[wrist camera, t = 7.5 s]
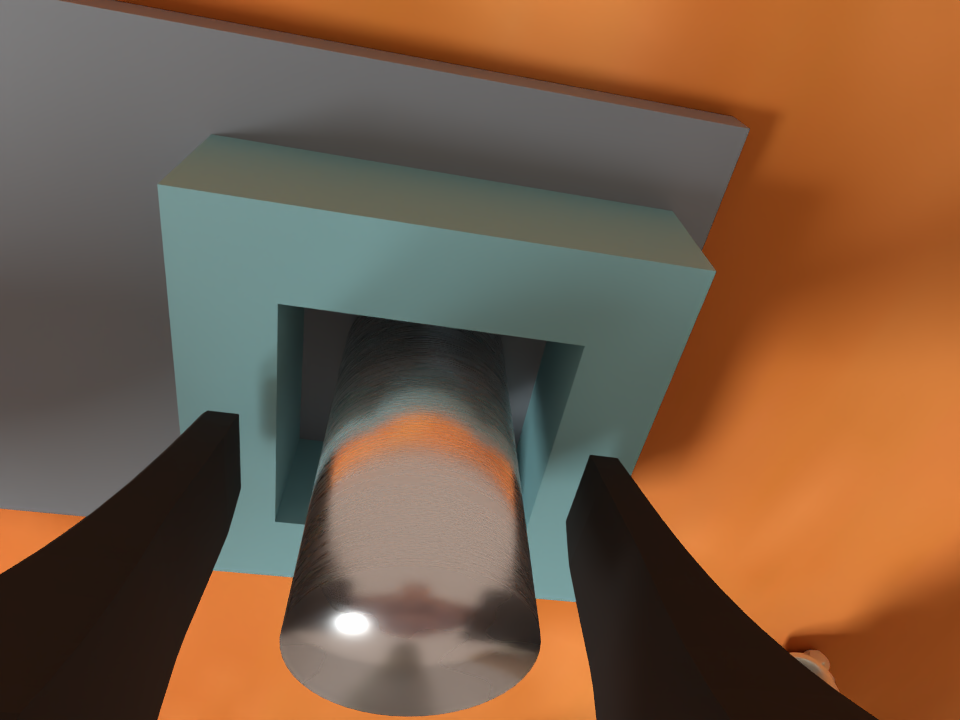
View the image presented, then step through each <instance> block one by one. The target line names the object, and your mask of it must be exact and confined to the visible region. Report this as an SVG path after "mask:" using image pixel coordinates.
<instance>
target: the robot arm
mask: <svg viewBox="0 0 960 720" xmlns="http://www.w3.org/2000/svg"><path fill="white" fill-rule="evenodd" d="M240 490H241V466H240V429H239V414H235V413H226V412H218V411H209V410H207V411H206V412H204V413H203V414H201V415H200V416H199V417H198V418H197V419H196V420H195V421H194V422H193V423H192V424H191V425H190V426H189V427H188V428H187V429H186V430H185V431H184V432H183V433H182V434H181V435H180V436H179V437H178V438H177V439H176V440H175V441H174V442H173V443H172V444H171V445H170V446H169V447H168V448H167V449H166V450H165V451H164V452H162V453H161V454H160V455H159V456H158V457H157V458H156V459H155V460H154V461H153V462H151V463H150V464H149V465H148V466H147V467H146V468H145V469H144V470H143V471H141V472H140V473H139V474H138V475H137V476H136V477H135V478H134V479H132V480H131V481H130V482H129V483H128V484H127V485H125V486H124V487H123V488H122V489H121V490H119V491H118V492H117V493H116V494H114V495H113V496H112V497H111V498H109V499H108V500H107V501H106V502H104V503H103V504H102V505H101V506H99V507H98V508H97V509H96V510H95V511H93V512H92V513H91V514H89V515H88V516H87V517H85V518H84V519H83V520H81V521H80V522H79V523H77V524H76V525H75V526H73V527H72V528H70V529H69V530H68V531H66V532H65V533H63V534H62V535H61V536H59V537H58V538H56V539H55V540H53V541H52V542H50V543H49V544H48V545H46V546H45V547H43V548H42V549H40V550H39V551H37V552H35V553H34V554H32V555H31V556H29V557H27V558H26V559H24V560H23V561H21V562H20V563H18V564H16V565H15V566H13V567H12V568H10V569H8V570H7V571H5V572H3V573H2V574H0V720H157V719H158V716H159V712H160V709H161V706H162V703H163V699H164V696H165V693H166V690H167V687H168V683H169V680H170V677H171V674H172V671H173V668H174V664H175V661H176V658H177V656H178V653H179V650H180V648H181V645H182V642H183V640H184V637H185V634H186V632H187V630H188V627H189V625H190V623H191V620H192V618H193V616H194V613H195V611H196V609H197V606H198V604H199V602H200V599H201V597H202V595H203V592H204V590H205V588H206V585H207V583H208V581H209V578H210V576H211V574H212V571H213V569H214V566H215V564H216V562H217V559H218V557H219V555H220V552H221V550H222V547H223V545H224V543H225V540H226V538H227V535H228V532H229V529H230V526H231V522H232V519H233V515H234V512H235V508H236V505H237V501H238V498H239V494H240ZM566 534H567V549H568V560H569V568H570V574H571V579H572V584H573V589H574V594H575V599H576V604H577V608H578V613H579V618H580V623H581V627H582V632H583V637H584V642H585V647H586V651H587V656H588V661H589V666H590V672H591V678H592V684H593V691H594V700H595V710H596V719H597V720H878V719H877V718H875V717H874V716H872V715H871V714H869V713H868V712H867V711H865V710H864V709H862V708H861V707H859V706H858V705H856V704H855V703H853V702H852V701H851V700H849V699H848V698H846V697H845V696H843V695H842V694H841V693H839V692H838V691H837V690H835V689H834V688H833V687H831V686H830V685H829V684H828V683H826V682H825V681H824V680H822V679H821V678H820V677H819V676H817V675H816V674H815V673H813V672H812V671H811V670H809V669H808V668H807V667H806V666H804V665H803V664H802V663H801V662H800V661H798V660H797V659H796V658H795V657H793V656H792V655H791V654H790V653H789V652H787V651H786V650H785V649H784V648H783V647H782V646H781V645H779V644H778V643H777V642H776V641H775V640H774V639H773V638H772V637H770V636H769V635H768V634H767V633H766V632H765V631H764V630H762V629H761V628H760V627H759V626H758V625H757V624H756V623H755V622H754V621H753V620H752V619H751V618H749V617H748V616H747V615H746V614H745V613H744V612H743V611H742V610H741V609H740V608H739V607H738V606H737V605H736V604H735V603H734V602H733V601H732V600H731V599H730V598H729V597H728V596H727V595H726V594H725V593H724V592H723V591H722V590H721V589H720V587H719V586H718V585H717V584H716V583H715V582H714V581H713V580H712V579H711V578H710V577H709V576H708V574H707V573H706V572H705V571H704V570H703V569H702V567H701V566H700V565H699V564H698V563H697V562H696V561H695V559H694V558H693V557H692V556H691V555H690V554H689V552H688V551H687V550H686V549H685V548H684V546H683V545H682V544H681V543H680V541H679V540H678V539H677V538H676V536H675V535H674V534H673V533H672V531H671V530H670V529H669V527H668V526H667V525H666V524H665V522H664V521H663V520H662V518H661V517H660V516H659V514H658V513H657V512H656V510H655V509H654V508H653V506H652V505H651V504H650V502H649V501H648V499H647V498H646V497H645V495H644V494H643V492H642V491H641V490H640V488H639V487H638V486H637V484H636V483H635V481H634V480H633V479H632V477H631V476H630V474H629V473H628V472H627V470H626V469H625V467H624V466H623V465H622V463H621V462H620V460H619V459H618V458H614V457H605V456H597V455H590V456H589V458H588V461H587V464H586V467H585V470H584V472H583V475H582V478H581V481H580V483H579V486H578V489H577V492H576V494H575V497H574V500H573V503H572V505H571V508H570V511H569V514H568V516H567V519H566Z"/></svg>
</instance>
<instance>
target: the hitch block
mask: <svg viewBox="0 0 960 720" xmlns="http://www.w3.org/2000/svg"><path fill="white" fill-rule="evenodd" d="M749 130H750V128H748V127H747V126H745V125H744V124H743V123H741V122H740V121H739V120H737V119H736V118H735V117H733V116H728V115H722V114H717V113H712V112H706V111H701V110H696V109H690V108H685V107H680V106H674V105H669V104H664V103H658V102H653V101H648V100H642V99H637V98H632V97H626V96H621V95H616V94H610V93H605V92H600V91H594V90H589V89H584V88H578V87H573V86H568V85H562V84H557V83H552V82H546V81H541V80H536V79H530V78H525V77H520V76H514V75H509V74H504V73H498V72H493V71H488V70H482V69H477V68H472V67H466V66H461V65H456V64H450V63H445V62H440V61H434V60H429V59H424V58H419V57H413V56H408V55H403V54H397V53H392V52H387V51H381V50H376V49H371V48H365V47H360V46H355V45H349V44H344V43H339V42H333V41H328V40H323V39H317V38H312V37H307V36H301V35H296V34H291V33H285V32H280V31H275V30H269V29H264V28H259V27H253V26H248V25H243V24H237V23H232V22H227V21H221V20H216V19H211V18H205V17H200V16H195V15H189V14H184V13H179V12H173V11H168V10H163V9H157V8H152V7H147V6H141V5H136V4H131V3H125V2H120V1H115V0H0V508H1V509H12V510H22V511H33V512H43V513H54V514H64V515H75V516H86V517H87V516H88V515H89V514H91V513H92V512H93V511H95V510H96V509H97V508H98V507H99V506H101V505H102V504H103V503H104V502H106V501H107V500H108V499H109V498H111V497H112V496H113V495H114V494H116V493H117V492H118V491H119V490H121V489H122V488H123V487H124V486H125V485H127V484H128V483H129V482H130V481H131V480H132V479H134V478H135V477H136V476H137V475H138V474H139V473H140V472H141V471H143V470H144V469H145V468H146V467H147V466H148V465H149V464H150V463H151V462H153V461H154V460H155V459H156V458H157V457H158V456H159V455H160V454H161V453H162V452H164V451H165V450H166V449H167V448H168V447H169V446H170V445H171V444H172V443H173V442H174V441H175V440H176V439H177V438H178V437H179V436H180V435H181V434H182V433H183V432H184V431H185V430H186V429H187V428H188V427H189V426H190V425H191V424H192V423H193V422H194V421H195V420H196V419H197V418H198V417H199V416H200V415H201V414H203V413H204V412H206V411H207V410H209V411H218V412H226V413H235V414H239V429H240V466H241V490H240V494H239V498H238V501H237V505H236V508H235V512H234V515H233V519H232V522H231V526H230V529H229V532H228V535H227V538H226V540H225V543H224V545H223V547H222V550H221V552H220V555H219V557H218V559H217V562H216V564H215V566H214V569H213V570H215V571H226V572H238V573H249V574H261V575H272V576H284V577H293V576H294V572H295V567H296V563H297V558H298V554H299V549H300V545H301V540H302V536H303V531H304V527H305V523H306V518H307V514H308V509H309V505H310V500H311V496H312V491H313V487H314V482H315V478H316V473H317V469H318V465H319V460H320V456H321V451H322V447H323V442H324V438H325V433H326V429H327V424H328V420H329V415H330V411H331V407H332V402H333V398H334V393H335V389H336V384H337V380H338V375H339V371H340V366H341V362H342V357H343V353H344V348H345V344H346V340H347V335H348V333H349V330H350V328H351V326H352V324H353V323H354V321H355V319H356V318H357V317H358V316H359V315H363V316H370V317H378V318H385V319H392V320H399V321H407V322H414V323H421V324H428V325H436V326H443V327H450V328H458V329H465V330H472V331H479V332H487V333H494V334H500V337H501V341H502V345H503V352H504V360H505V367H506V375H507V383H508V390H509V398H510V406H511V413H512V421H513V429H514V436H515V444H516V452H517V460H518V467H519V475H520V483H521V490H522V498H523V506H524V513H525V521H526V529H527V536H528V544H529V552H530V559H531V567H532V575H533V582H534V590H535V598H537V599H548V600H560V601H571V602H576V599H575V594H574V589H573V584H572V579H571V574H570V568H569V560H568V549H567V534H566V519H567V516H568V514H569V511H570V508H571V505H572V503H573V500H574V497H575V494H576V492H577V489H578V486H579V483H580V481H581V478H582V475H583V472H584V470H585V467H586V464H587V461H588V458H589V456H590V455H597V456H605V457H614V458H618V459H619V460H620V462H621V463H622V465H623V466H624V467H625V469H626V470H627V472H628V473H629V474H630V476H631V474H632V472H633V470H634V467H635V465H636V462H637V460H638V458H639V455H640V453H641V450H642V448H643V446H644V443H645V441H646V438H647V436H648V434H649V431H650V429H651V426H652V424H653V422H654V419H655V417H656V415H657V412H658V410H659V407H660V405H661V403H662V400H663V398H664V395H665V393H666V391H667V388H668V386H669V383H670V381H671V379H672V376H673V374H674V372H675V369H676V367H677V364H678V362H679V360H680V357H681V355H682V352H683V350H684V348H685V345H686V343H687V340H688V338H689V336H690V333H691V331H692V328H693V326H694V324H695V321H696V319H697V317H698V314H699V312H700V309H701V307H702V305H703V302H704V300H705V297H706V295H707V293H708V290H709V288H710V285H711V283H712V281H713V278H714V276H715V273H716V270H715V269H714V267H713V266H712V265H711V263H710V262H709V260H708V259H707V258H706V256H705V255H704V254H703V252H702V249H703V246H704V244H705V241H706V239H707V236H708V234H709V231H710V229H711V226H712V223H713V221H714V218H715V216H716V213H717V211H718V208H719V206H720V203H721V201H722V198H723V196H724V193H725V191H726V188H727V186H728V183H729V181H730V178H731V176H732V173H733V171H734V168H735V166H736V163H737V161H738V158H739V156H740V153H741V150H742V148H743V145H744V143H745V140H746V138H747V135H748V133H749Z"/></svg>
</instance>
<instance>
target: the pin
mask: <svg viewBox="0 0 960 720" xmlns="http://www.w3.org/2000/svg"><path fill="white" fill-rule="evenodd" d="M540 644H541V639H540V628H539V621H538V613H537V605H536V598H535V590H534V582H533V575H532V567H531V559H530V552H529V544H528V536H527V529H526V521H525V513H524V506H523V498H522V490H521V483H520V475H519V467H518V460H517V452H516V444H515V436H514V429H513V421H512V413H511V406H510V398H509V390H508V383H507V375H506V367H505V360H504V352H503V345H502V341H501V337H500V334H494V333H487V332H479V331H472V330H465V329H458V328H450V327H443V326H436V325H428V324H421V323H414V322H407V321H399V320H392V319H385V318H378V317H370V316H363V315H359V316H358V317H357V318H356V319H355V321H354V323H353V324H352V326H351V328H350V330H349V333H348V335H347V340H346V344H345V348H344V353H343V357H342V362H341V366H340V371H339V375H338V380H337V384H336V389H335V393H334V398H333V402H332V407H331V411H330V415H329V420H328V424H327V429H326V433H325V438H324V442H323V447H322V451H321V456H320V460H319V465H318V469H317V473H316V478H315V482H314V487H313V491H312V496H311V500H310V505H309V509H308V514H307V518H306V523H305V527H304V531H303V536H302V540H301V545H300V549H299V554H298V558H297V563H296V567H295V572H294V576H293V581H292V585H291V589H290V594H289V598H288V603H287V607H286V612H285V616H284V621H283V625H282V630H281V634H280V650H281V654H282V658H283V660H284V662H285V664H286V666H287V668H288V669H289V670H290V672H291V673H292V674H293V676H294V677H295V678H296V679H297V680H298V681H299V682H300V683H301V684H303V685H304V686H305V687H307V688H308V689H309V690H311V691H312V692H314V693H316V694H317V695H319V696H321V697H323V698H325V699H327V700H329V701H331V702H333V703H336V704H339V705H342V706H344V707H347V708H351V709H355V710H358V711H362V712H368V713H373V714H380V715H389V716H428V715H438V714H444V713H450V712H455V711H459V710H463V709H467V708H470V707H473V706H476V705H480V704H482V703H484V702H487V701H489V700H492V699H494V698H495V697H497V696H499V695H501V694H503V693H505V692H506V691H508V690H509V689H511V688H512V687H513V686H515V685H516V684H517V683H518V682H519V681H521V680H522V679H523V678H524V677H525V675H526V674H527V673H528V672H529V671H530V670H531V668H532V666H533V665H534V663H535V661H536V659H537V656H538V654H539V650H540Z"/></svg>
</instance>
